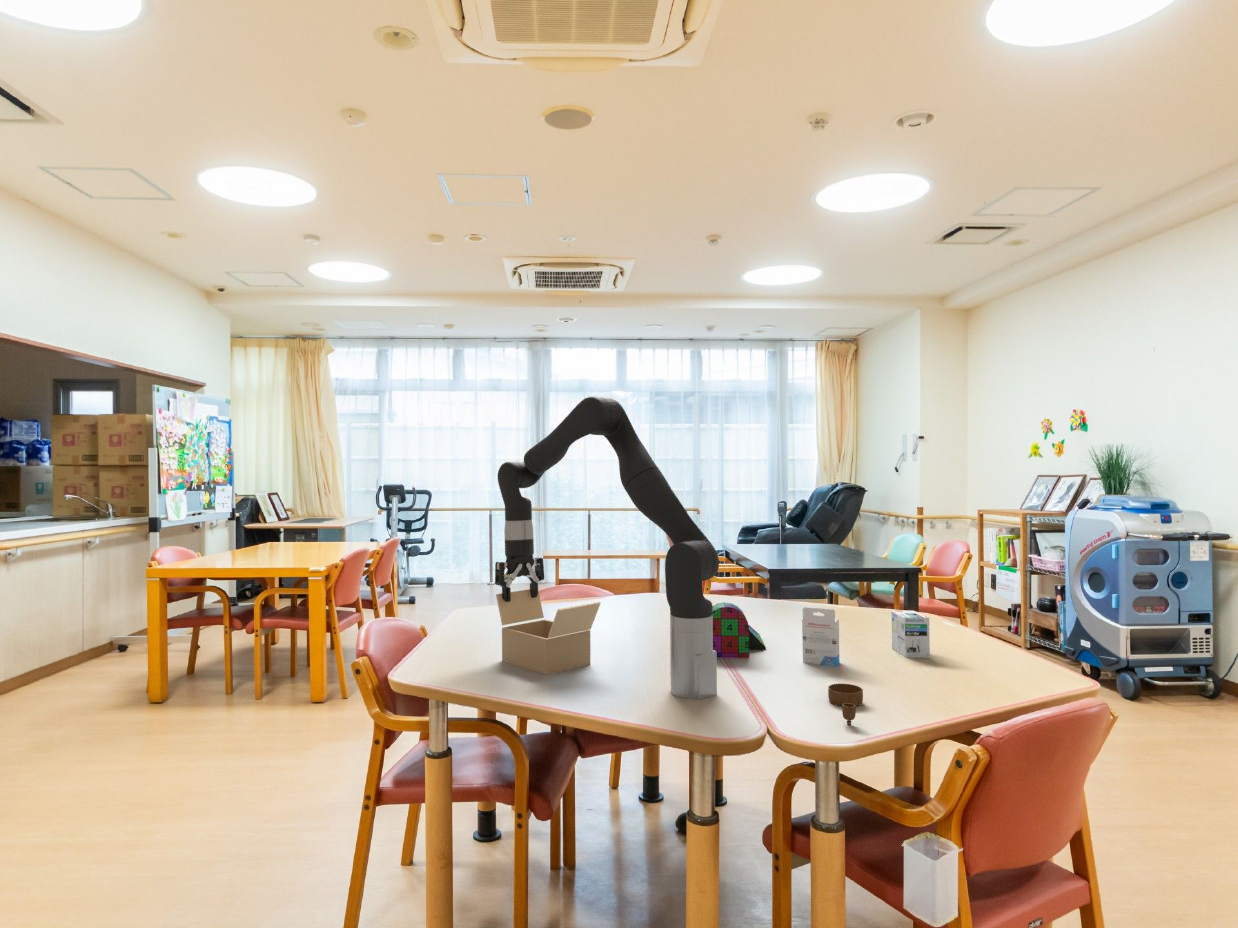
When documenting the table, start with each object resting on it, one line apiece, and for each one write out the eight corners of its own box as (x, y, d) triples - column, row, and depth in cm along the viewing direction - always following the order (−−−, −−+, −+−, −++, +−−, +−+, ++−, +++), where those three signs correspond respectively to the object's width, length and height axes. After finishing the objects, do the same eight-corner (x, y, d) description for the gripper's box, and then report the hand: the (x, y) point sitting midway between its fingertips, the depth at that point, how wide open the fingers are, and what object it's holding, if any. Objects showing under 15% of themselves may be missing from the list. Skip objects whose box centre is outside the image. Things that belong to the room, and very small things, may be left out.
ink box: (840, 664, 188) (839, 606, 188) (836, 669, 183) (836, 609, 183) (806, 660, 192) (806, 603, 192) (802, 664, 187) (801, 606, 187)
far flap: (537, 588, 198) (536, 588, 198) (496, 594, 189) (495, 594, 189) (543, 617, 196) (542, 617, 197) (503, 625, 187) (501, 625, 187)
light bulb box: (930, 658, 193) (930, 617, 193) (904, 658, 193) (904, 617, 193) (915, 648, 204) (914, 609, 204) (890, 648, 204) (890, 609, 204)
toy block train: (770, 661, 192) (769, 607, 192) (704, 660, 193) (704, 606, 193) (759, 638, 217) (759, 590, 217) (701, 638, 218) (701, 590, 218)
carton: (590, 669, 183) (590, 629, 183) (546, 681, 174) (546, 639, 174) (545, 656, 196) (545, 619, 196) (502, 666, 187) (501, 627, 187)
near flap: (589, 627, 183) (590, 629, 183) (547, 636, 174) (549, 637, 174) (599, 601, 180) (600, 602, 180) (557, 608, 171) (559, 610, 171)
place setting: (899, 714, 152) (899, 685, 152) (855, 740, 137) (855, 709, 137) (822, 696, 164) (822, 669, 164) (773, 718, 149) (773, 689, 149)
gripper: (505, 540, 185) (506, 604, 185) (549, 536, 195) (550, 597, 195) (488, 539, 191) (489, 601, 190) (532, 535, 201) (533, 594, 200)
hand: (520, 599), depth 193 cm, fingers open, 8 cm apart
